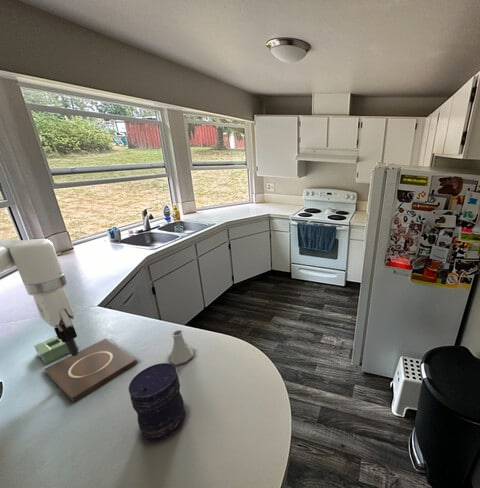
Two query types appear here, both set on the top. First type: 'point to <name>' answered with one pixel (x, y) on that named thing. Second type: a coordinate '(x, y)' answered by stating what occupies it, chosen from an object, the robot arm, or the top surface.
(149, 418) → the storage jar
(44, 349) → the pen stand
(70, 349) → the marker
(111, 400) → the top surface
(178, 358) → the flask
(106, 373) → the board
